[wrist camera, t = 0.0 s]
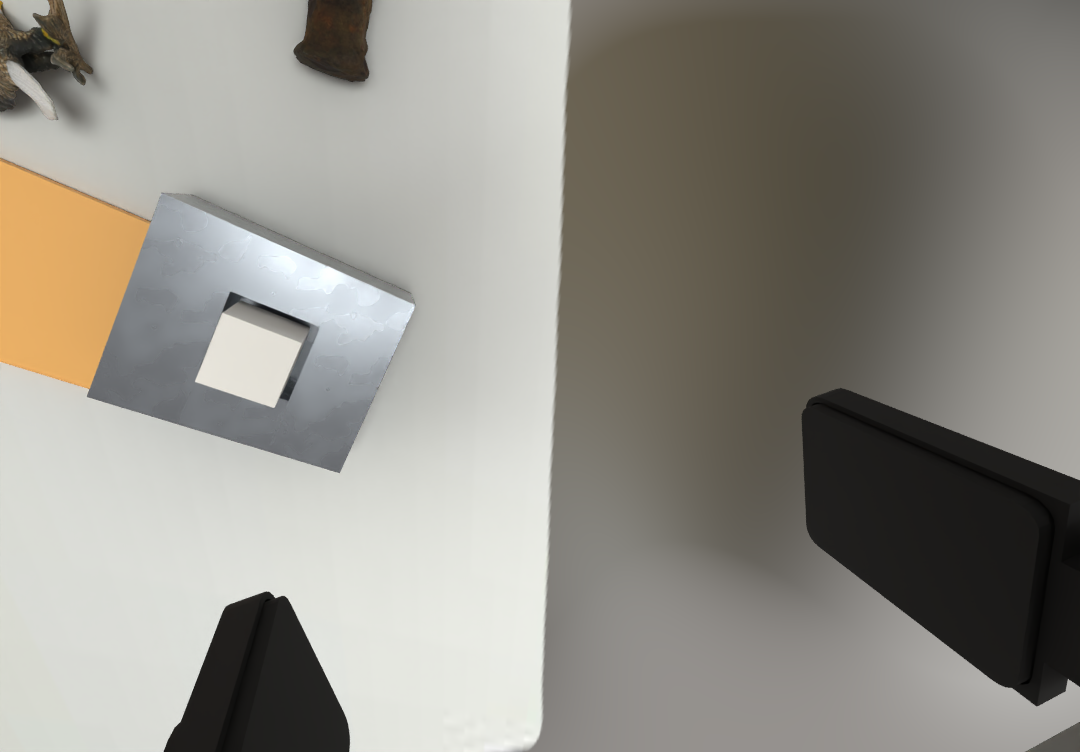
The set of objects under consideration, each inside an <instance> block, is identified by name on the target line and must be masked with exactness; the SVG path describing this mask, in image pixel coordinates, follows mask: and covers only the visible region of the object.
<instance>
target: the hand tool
mask: <svg viewBox="0 0 1080 752" xmlns="http://www.w3.org/2000/svg"><path fill="white" fill-rule="evenodd" d="M371 11H372V0H309V1H308V15H307V25H306V32H305V36H304V40H303V41H302V42H300V43H299V44H298V45H297V46H296V47H295V49H294V54H295V55H296V56H297V57H296V58H297V59H298V60H299V61H300V63H302V64H305V65H307V66H309V67H311V68H313V69H316V70H319V71H321V72H324V73H326V74H329V75H332V76H335V77H338V78H341V79H346V80H348V81H351V82H353V81H365V79H367V78H368V76H369V70H368V67H367V63H366V60H365V57H364V56H365V55H366V52H367V50H368V45H367V42H366V39H365V37H366V31H367V29H368V23H369V15H370V13H371Z"/></svg>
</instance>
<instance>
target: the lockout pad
mask: <svg viewBox="0 0 1080 752" xmlns="http://www.w3.org/2000/svg"><path fill="white" fill-rule="evenodd" d="M150 223H151V222H150V221H148V220H146V219H143V218H141V217H139V216H136V215H134V214H131V213H129V212H127V211H124V210H122V209H120V208H117V207H115V206H112V205H110V204H108V203H105V202H103V201H101V200H98V199H96V198H94V197H91V196H89V195H86V194H84V193H82V192H79V191H77V190H75V189H72V188H70V187H67V186H65V185H63V184H60V183H58V182H56V181H53V180H51V179H49V178H46V177H44V176H41V175H39V174H37V173H34V172H32V171H30V170H27V169H25V168H23V167H20V166H18V165H15V164H13V163H11V162H8V161H6V160H4V159H1V158H0V362H3V363H6V364H10V365H13V366H16V367H19V368H23V369H26V370H29V371H32V372H36V373H39V374H42V375H45V376H49V377H52V378H55V379H58V380H62V381H65V382H68V383H71V384H75V385H78V386H81V387H85V388H88V389H90V387H91V384H92V381H93V378H94V376H95V373H96V370H97V368H98V365H99V362H100V359H101V357H102V354H103V351H104V348H105V346H106V343H107V340H108V338H109V335H110V332H111V329H112V327H113V324H114V321H115V318H116V316H117V313H118V310H119V308H120V305H121V302H122V299H123V297H124V294H125V291H126V288H127V286H128V283H129V280H130V278H131V275H132V272H133V269H134V267H135V264H136V261H137V259H138V256H139V253H140V250H141V248H142V245H143V242H144V239H145V237H146V234H147V231H148V229H149V226H150Z"/></svg>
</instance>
